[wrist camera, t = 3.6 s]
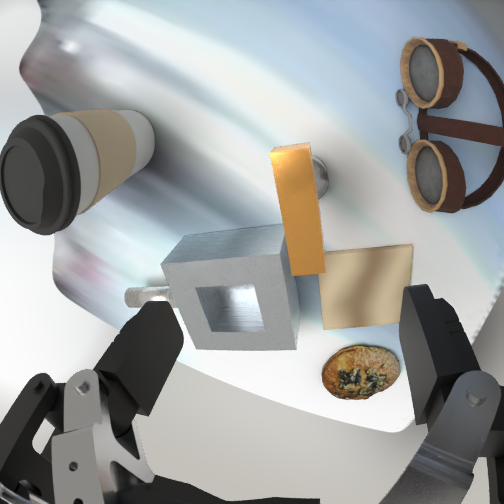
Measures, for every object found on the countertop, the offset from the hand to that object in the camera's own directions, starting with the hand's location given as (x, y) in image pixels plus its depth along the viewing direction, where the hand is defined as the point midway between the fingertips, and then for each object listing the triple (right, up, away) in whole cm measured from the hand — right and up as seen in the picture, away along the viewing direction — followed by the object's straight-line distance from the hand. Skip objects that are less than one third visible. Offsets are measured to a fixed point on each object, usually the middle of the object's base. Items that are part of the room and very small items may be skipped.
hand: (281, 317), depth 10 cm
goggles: (+18, +14, +11) cm, 25 cm away
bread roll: (+14, -14, +27) cm, 34 cm away
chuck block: (-6, -1, +24) cm, 25 cm away
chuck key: (+4, +9, +16) cm, 19 cm away
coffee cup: (-14, +14, +18) cm, 27 cm away
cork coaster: (+11, -2, +21) cm, 24 cm away
